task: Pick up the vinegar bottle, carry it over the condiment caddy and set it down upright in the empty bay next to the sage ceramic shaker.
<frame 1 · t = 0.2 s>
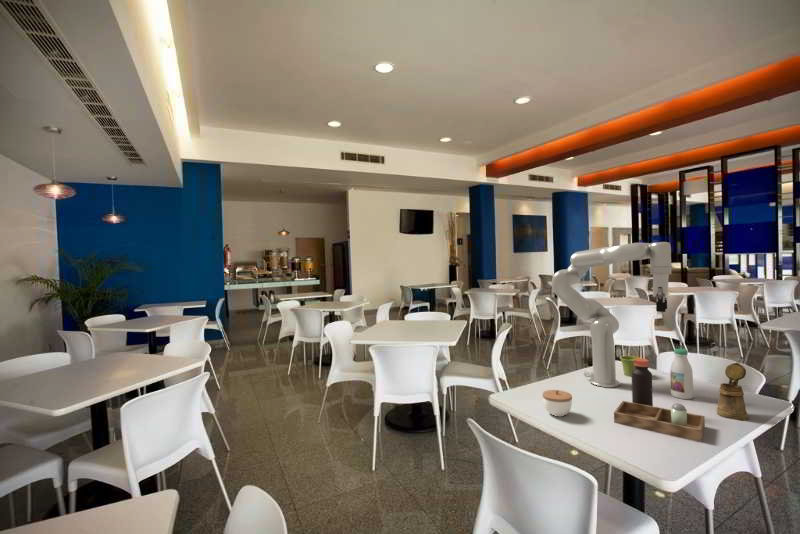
hand: (661, 310, 167), 37 cm above the table, tool pointing down, fingers open, 9 cm apart
milk bottle: (682, 396, 164), on the table
caddy: (658, 426, 137), on the table
vinegar: (642, 411, 151), on the table
shaker: (679, 428, 133), point 1 cm above the table, touching caddy
burlap money sack: (733, 414, 145), on the table
lidded jar: (557, 414, 152), on the table
plant pot: (630, 375, 195), on the table
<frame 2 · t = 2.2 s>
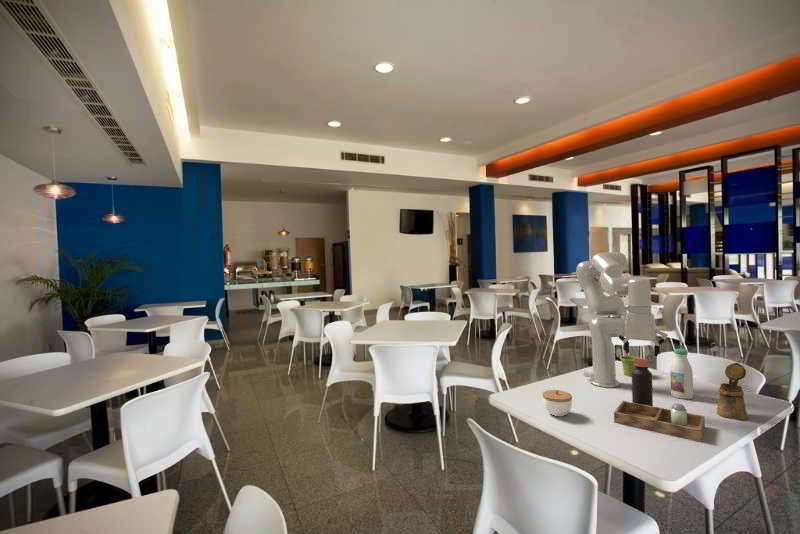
hand: (641, 354, 150), 22 cm above the table, tool pointing down, fingers open, 9 cm apart
nothing on the table moved.
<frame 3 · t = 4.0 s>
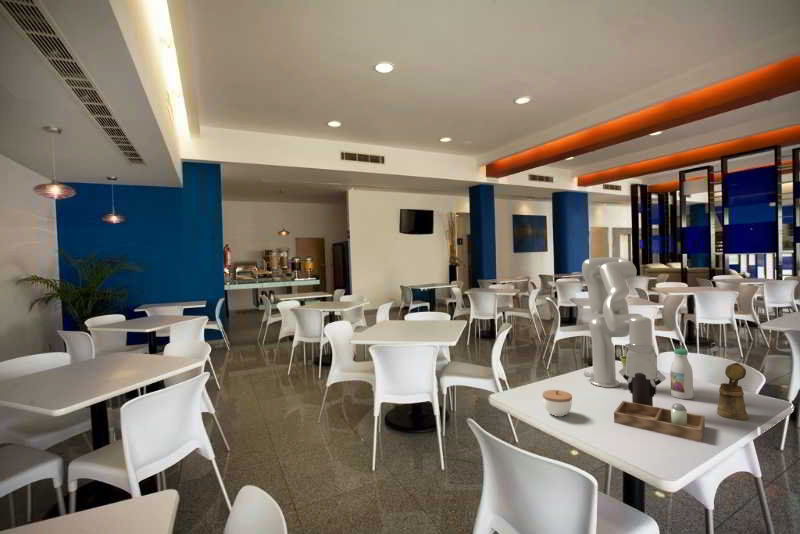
hand: (642, 393, 151), 7 cm above the table, tool pointing down, fingers closed on vinegar, 6 cm apart
vinegar: (642, 411, 151), on the table, touching gripper
everything else where it was.
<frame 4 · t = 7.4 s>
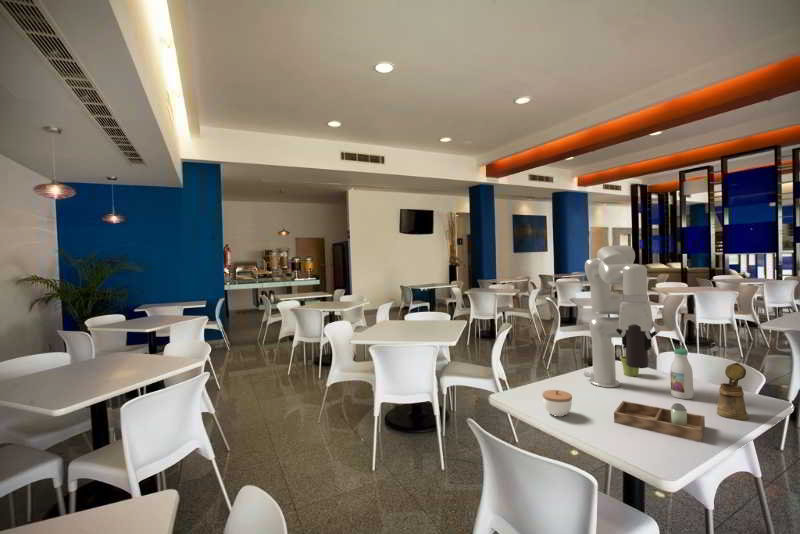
hand: (636, 347, 140), 27 cm above the table, tool pointing down, fingers closed on vinegar, 6 cm apart
vinegar: (637, 366, 141), point 21 cm above the table, touching gripper
everything else where it was.
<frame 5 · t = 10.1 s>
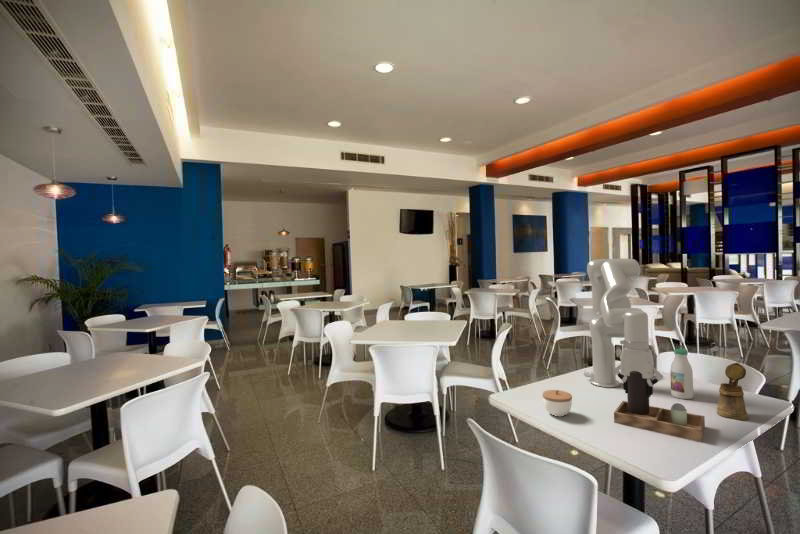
hand: (638, 393, 141), 11 cm above the table, tool pointing down, fingers closed on vinegar, 6 cm apart
vinegar: (638, 412, 141), point 4 cm above the table, touching gripper
everything else where it was.
when the fingers open (9 cm above the table, at t = 11.1 s): vinegar drops 1 cm, resting on caddy.
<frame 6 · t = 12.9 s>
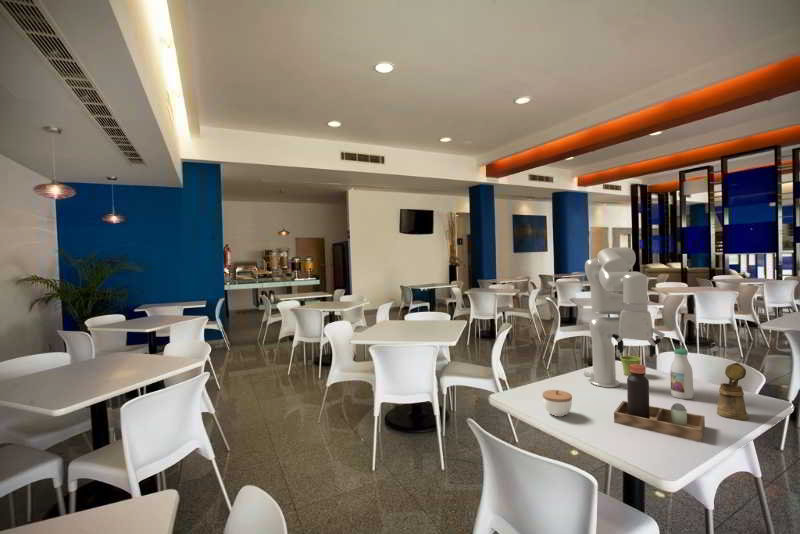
hand: (636, 354, 141), 25 cm above the table, tool pointing down, fingers open, 9 cm apart
vinegar: (638, 420, 141), point 1 cm above the table, touching caddy
everything else where it was.
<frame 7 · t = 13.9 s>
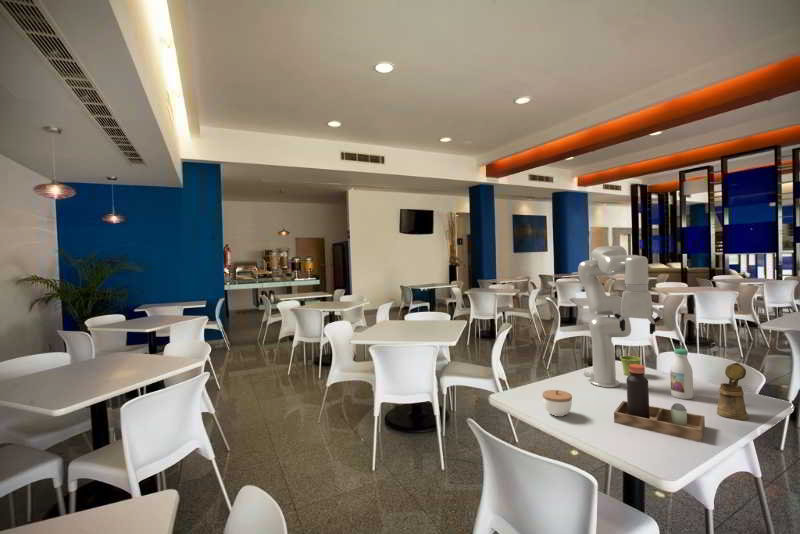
hand: (637, 332, 150), 31 cm above the table, tool pointing down, fingers open, 9 cm apart
nothing on the table moved.
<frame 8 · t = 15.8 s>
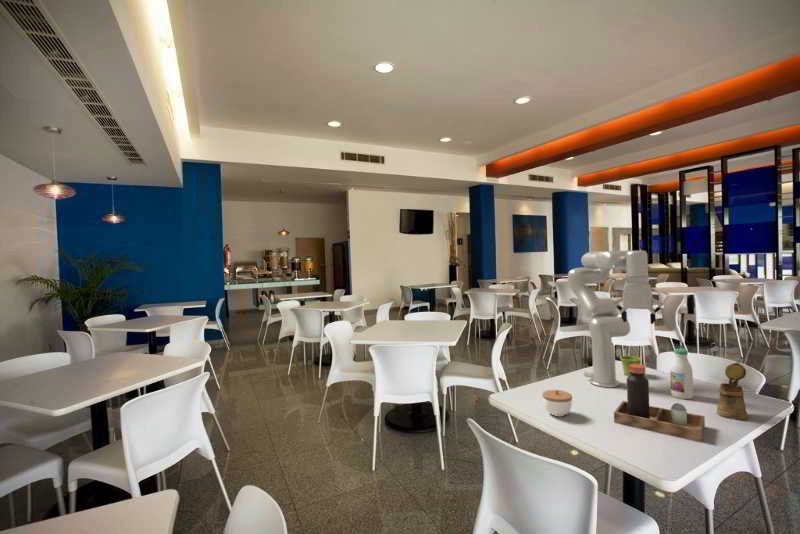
hand: (638, 322, 158), 33 cm above the table, tool pointing down, fingers open, 9 cm apart
nothing on the table moved.
at the end: vinegar inside the target area on the caddy (0.1 cm from its centre), point 0.6 cm above the caddy's base; vinegar tilted 0°; the gripper is holding nothing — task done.
